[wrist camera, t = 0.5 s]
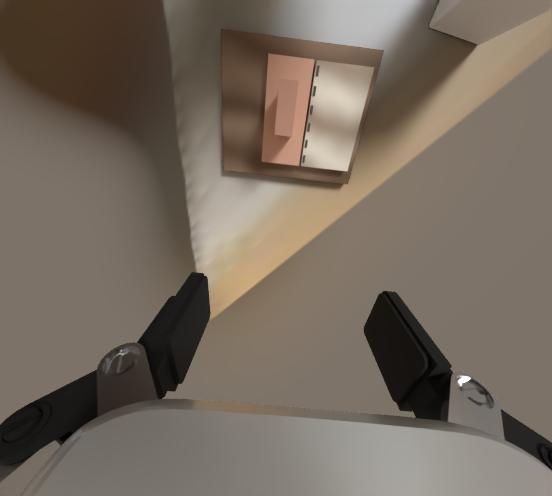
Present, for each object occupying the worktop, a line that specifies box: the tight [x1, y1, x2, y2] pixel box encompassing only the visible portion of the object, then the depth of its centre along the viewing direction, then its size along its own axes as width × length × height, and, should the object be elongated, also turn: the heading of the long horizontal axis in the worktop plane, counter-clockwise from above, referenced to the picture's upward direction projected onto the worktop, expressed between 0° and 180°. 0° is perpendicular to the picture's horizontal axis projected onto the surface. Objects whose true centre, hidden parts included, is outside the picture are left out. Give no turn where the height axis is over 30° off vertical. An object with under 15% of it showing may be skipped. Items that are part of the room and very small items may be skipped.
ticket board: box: [221, 29, 384, 184], centre depth 28 cm, size 16×20×3 cm
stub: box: [262, 53, 315, 166], centre depth 24 cm, size 12×6×7 cm, turn 174°
